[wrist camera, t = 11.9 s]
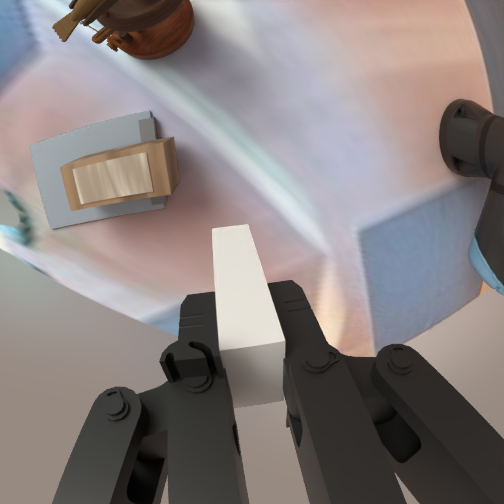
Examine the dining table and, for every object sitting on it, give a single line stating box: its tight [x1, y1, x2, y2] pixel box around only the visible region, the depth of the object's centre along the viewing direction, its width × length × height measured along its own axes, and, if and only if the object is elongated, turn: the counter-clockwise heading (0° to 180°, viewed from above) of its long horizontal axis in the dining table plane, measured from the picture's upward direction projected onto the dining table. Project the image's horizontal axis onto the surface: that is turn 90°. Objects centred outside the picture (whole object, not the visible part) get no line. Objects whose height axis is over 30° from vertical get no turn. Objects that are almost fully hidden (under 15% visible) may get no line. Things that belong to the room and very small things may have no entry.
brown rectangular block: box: [60, 137, 180, 211], centre depth 32 cm, size 6×6×14 cm
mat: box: [30, 111, 167, 229], centre depth 34 cm, size 20×14×1 cm
